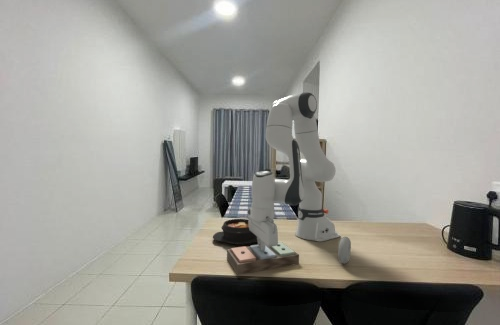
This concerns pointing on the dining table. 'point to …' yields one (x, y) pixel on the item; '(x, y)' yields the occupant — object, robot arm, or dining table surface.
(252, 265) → the wooden counting block tray
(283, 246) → the counting block
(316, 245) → the dining table surface
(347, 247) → the donut
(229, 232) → the casserole
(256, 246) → the counting block
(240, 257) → the counting block
